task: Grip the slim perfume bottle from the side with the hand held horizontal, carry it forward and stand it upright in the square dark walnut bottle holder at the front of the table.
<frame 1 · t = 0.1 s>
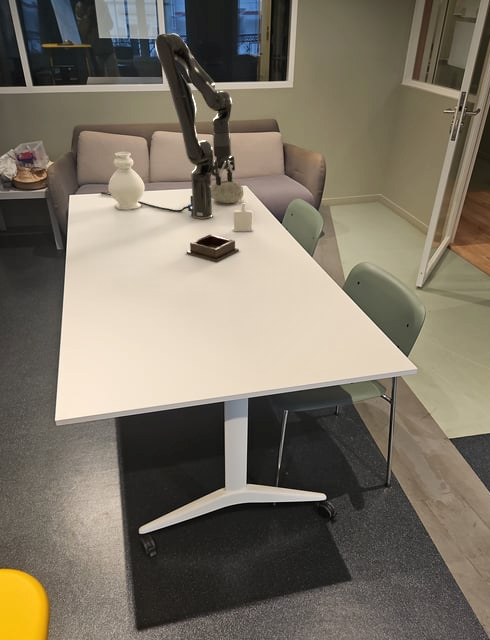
hand: (224, 183, 228), 17 cm above the table, tool pointing down, fingers open, 8 cm apart
decorative shell: (226, 201, 267), on the table
perfume bottle: (242, 231, 227), on the table
decorative vase: (128, 206, 257), on the table
bottle stand: (212, 252, 204), on the table
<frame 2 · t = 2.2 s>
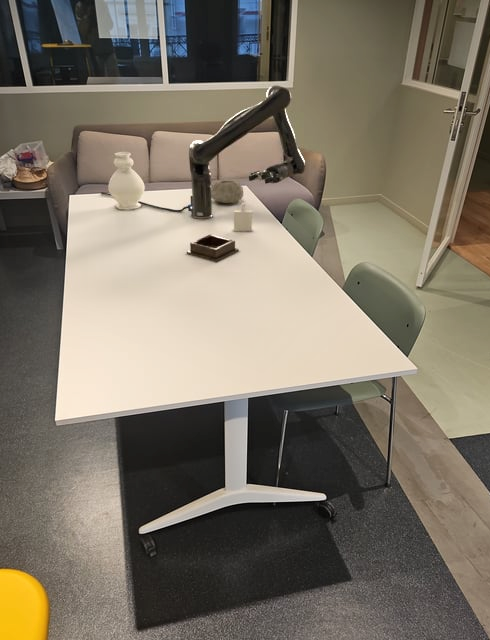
hand: (257, 179, 223), 20 cm above the table, tool horizontal, fingers open, 8 cm apart
nothing on the table moved.
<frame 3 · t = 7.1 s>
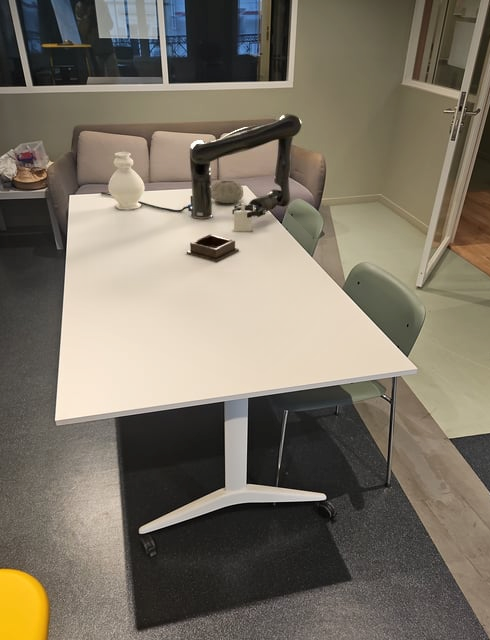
hand: (240, 213, 221), 8 cm above the table, tool horizontal, fingers closed on perfume bottle, 7 cm apart
perfume bottle: (242, 231, 227), on the table, touching gripper
everything else where it was.
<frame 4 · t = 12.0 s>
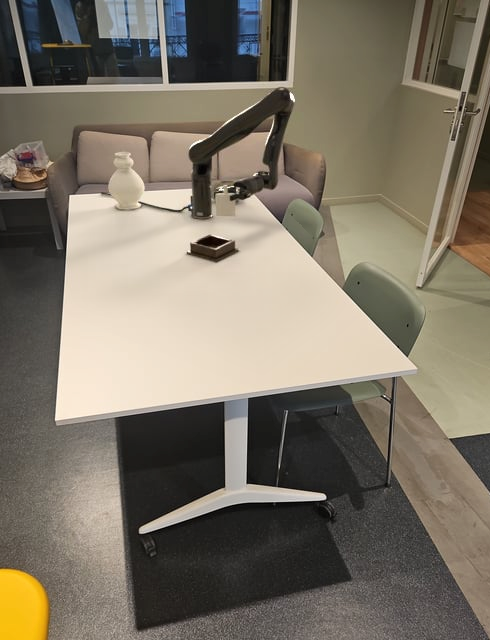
hand: (222, 196, 200), 20 cm above the table, tool horizontal, fingers closed on perfume bottle, 7 cm apart
perfume bottle: (225, 216, 206), point 12 cm above the table, touching gripper
everything else where it was.
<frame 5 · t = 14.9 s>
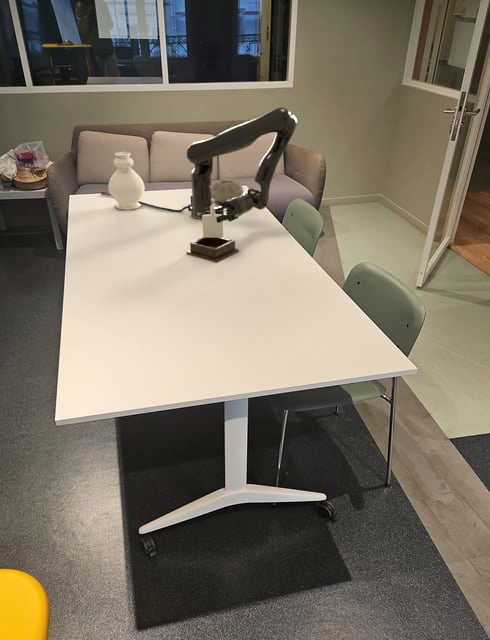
hand: (209, 218, 195), 14 cm above the table, tool horizontal, fingers closed on perfume bottle, 7 cm apart
perfume bottle: (213, 237, 201), point 6 cm above the table, touching gripper
everything else where it was.
when the fingers open (9 cm above the table, at t = 17.1 s): perfume bottle stays where it is, resting on bottle stand.
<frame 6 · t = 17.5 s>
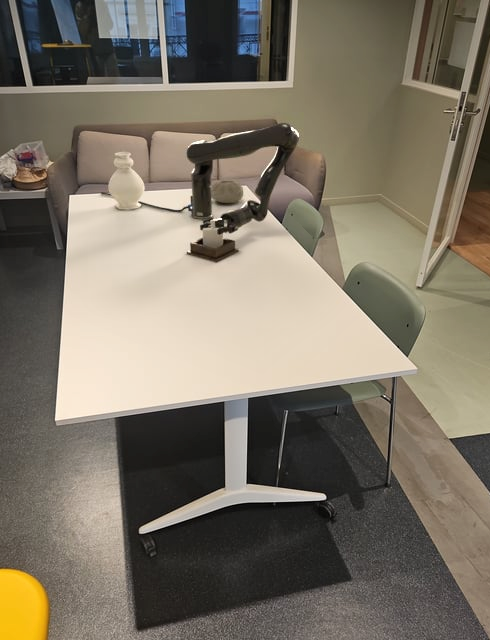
hand: (209, 229, 197), 10 cm above the table, tool horizontal, fingers open, 8 cm apart
perfume bottle: (213, 250, 204), point 1 cm above the table, touching bottle stand
everything else where it was.
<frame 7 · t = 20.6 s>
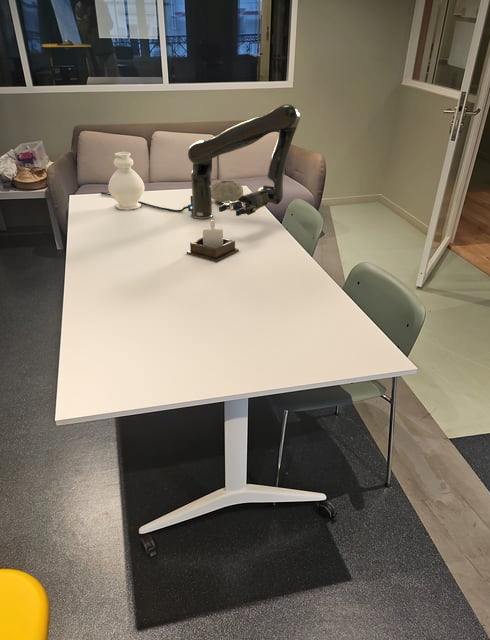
hand: (228, 211, 204), 14 cm above the table, tool horizontal, fingers open, 8 cm apart
nothing on the table moved.
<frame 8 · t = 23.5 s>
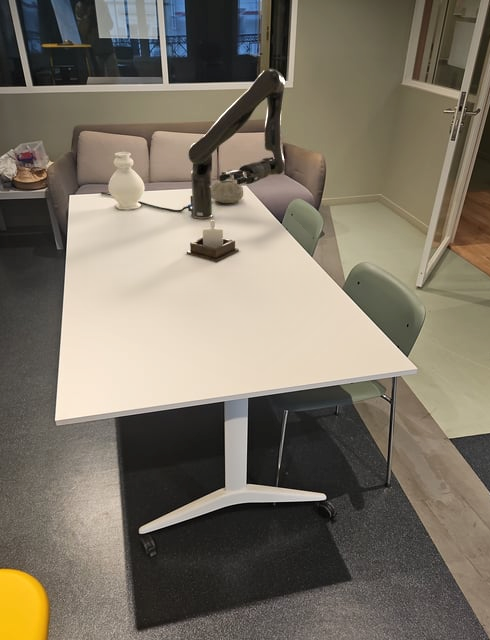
hand: (228, 180, 197), 26 cm above the table, tool horizontal, fingers open, 8 cm apart
nothing on the table moved.
at the end: perfume bottle 0.1 cm off-centre on the bottle stand, point 0.8 cm above the bottle stand's base; perfume bottle tilted 0° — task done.
